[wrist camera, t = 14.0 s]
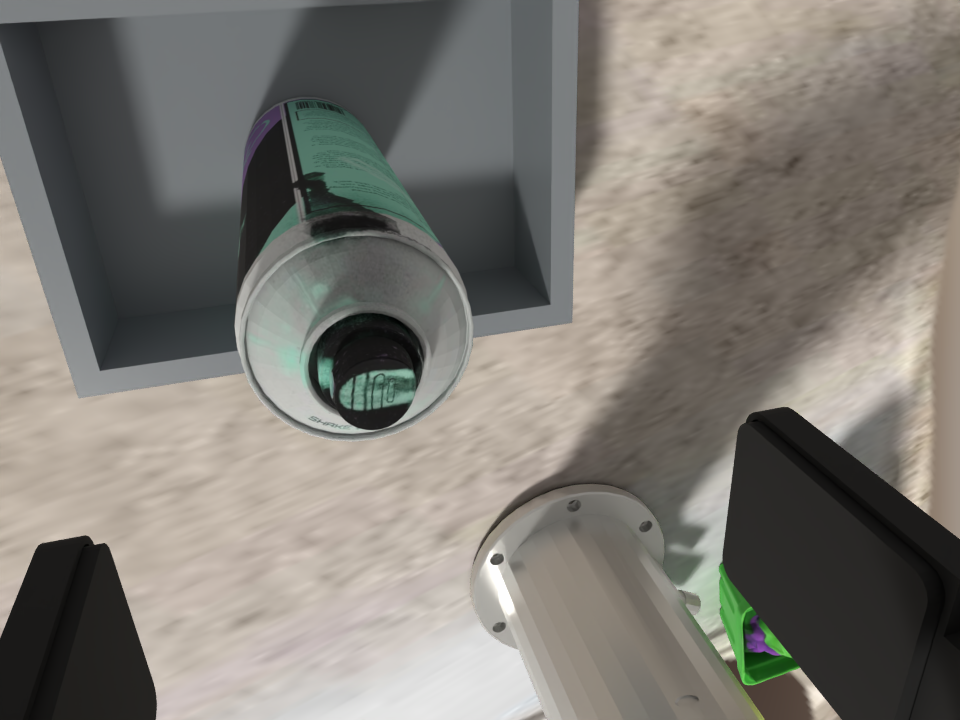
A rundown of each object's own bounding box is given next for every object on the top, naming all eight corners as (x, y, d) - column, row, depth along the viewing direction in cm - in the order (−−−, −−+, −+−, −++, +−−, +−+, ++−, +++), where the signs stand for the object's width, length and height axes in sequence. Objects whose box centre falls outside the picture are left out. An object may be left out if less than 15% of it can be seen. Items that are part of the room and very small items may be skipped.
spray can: (216, 134, 31) (170, 356, 14) (336, 71, 31) (439, 213, 14) (288, 247, 34) (322, 548, 17) (397, 189, 34) (545, 429, 17)
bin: (525, -37, 32) (579, -39, 27) (528, 275, 39) (572, 322, 33) (1, -15, 28) (-55, -12, 23) (103, 333, 34) (78, 398, 29)
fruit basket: (703, 633, 55) (801, 775, 45) (700, 542, 51) (808, 678, 41) (842, 584, 57) (965, 710, 47) (850, 491, 53) (988, 610, 43)
